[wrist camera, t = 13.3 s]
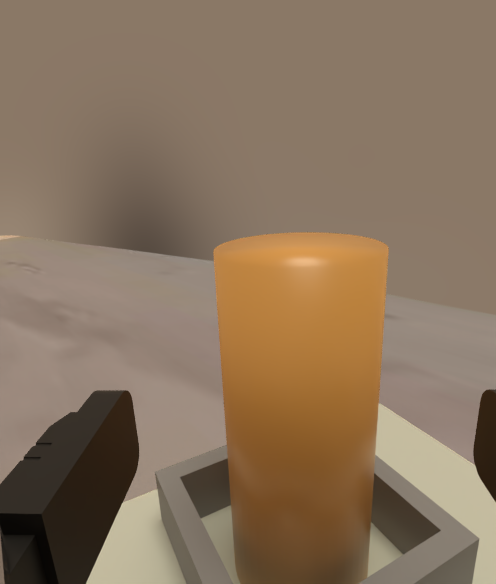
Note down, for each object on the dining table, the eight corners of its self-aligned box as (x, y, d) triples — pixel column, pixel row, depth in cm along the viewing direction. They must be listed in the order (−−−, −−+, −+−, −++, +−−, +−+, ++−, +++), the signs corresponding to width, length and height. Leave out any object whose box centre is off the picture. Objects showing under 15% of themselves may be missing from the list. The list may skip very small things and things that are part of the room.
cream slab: (376, 422, 25) (379, 365, 24) (683, 640, 14) (719, 550, 12) (69, 553, 18) (51, 478, 17) (153, 1330, 6) (111, 1266, 5)
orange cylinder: (313, 486, 19) (316, 227, 15) (397, 579, 14) (429, 249, 11) (214, 533, 17) (189, 244, 13) (278, 658, 12) (268, 279, 9)
